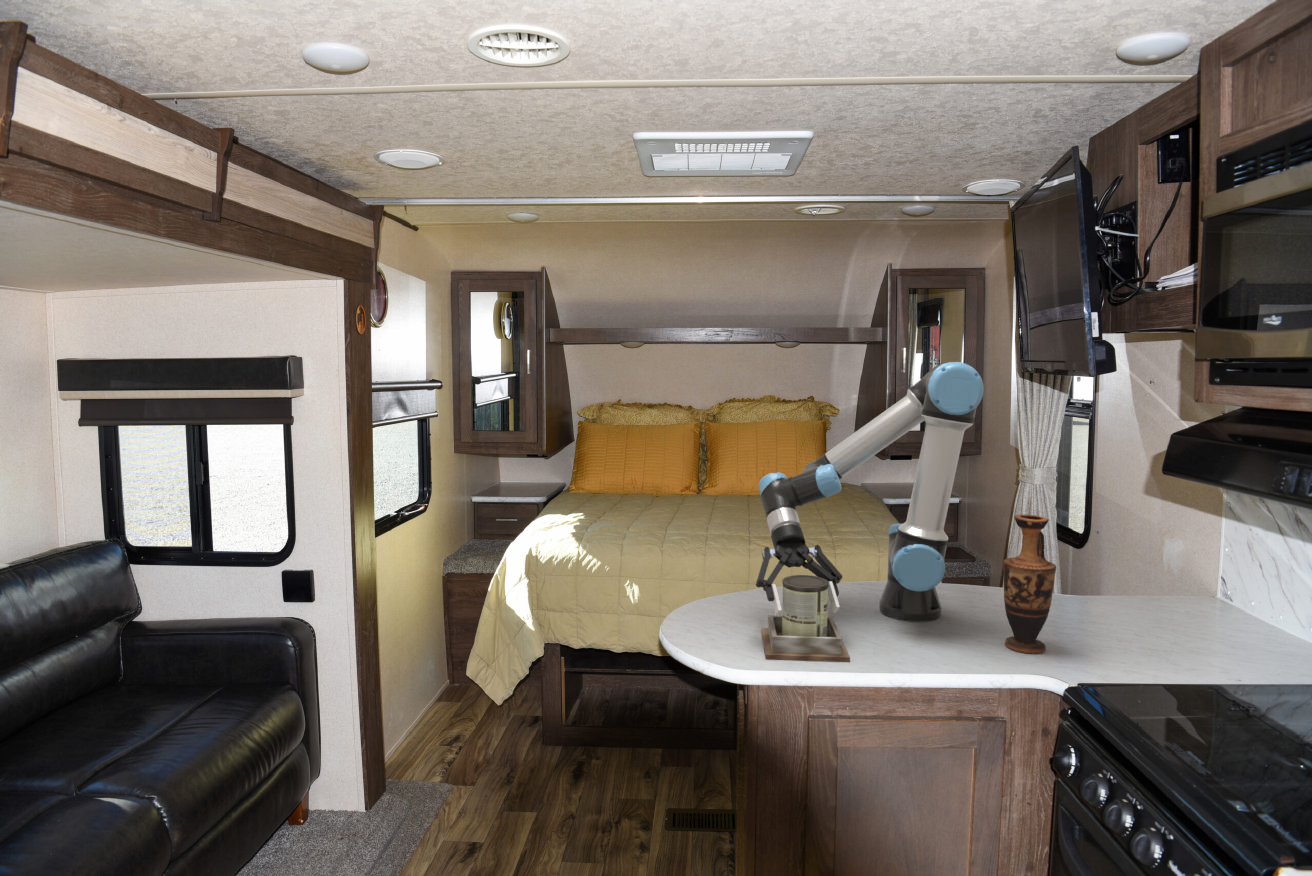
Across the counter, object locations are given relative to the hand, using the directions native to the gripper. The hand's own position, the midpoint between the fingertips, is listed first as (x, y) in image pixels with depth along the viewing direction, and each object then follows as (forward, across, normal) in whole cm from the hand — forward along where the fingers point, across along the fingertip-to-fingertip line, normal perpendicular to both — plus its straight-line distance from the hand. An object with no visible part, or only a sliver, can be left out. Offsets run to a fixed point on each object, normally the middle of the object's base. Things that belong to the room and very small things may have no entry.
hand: (807, 611), depth 181 cm
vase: (+12, -49, -1) cm, 50 cm away
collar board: (+4, 0, -8) cm, 9 cm away
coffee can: (+4, 0, -7) cm, 8 cm away
